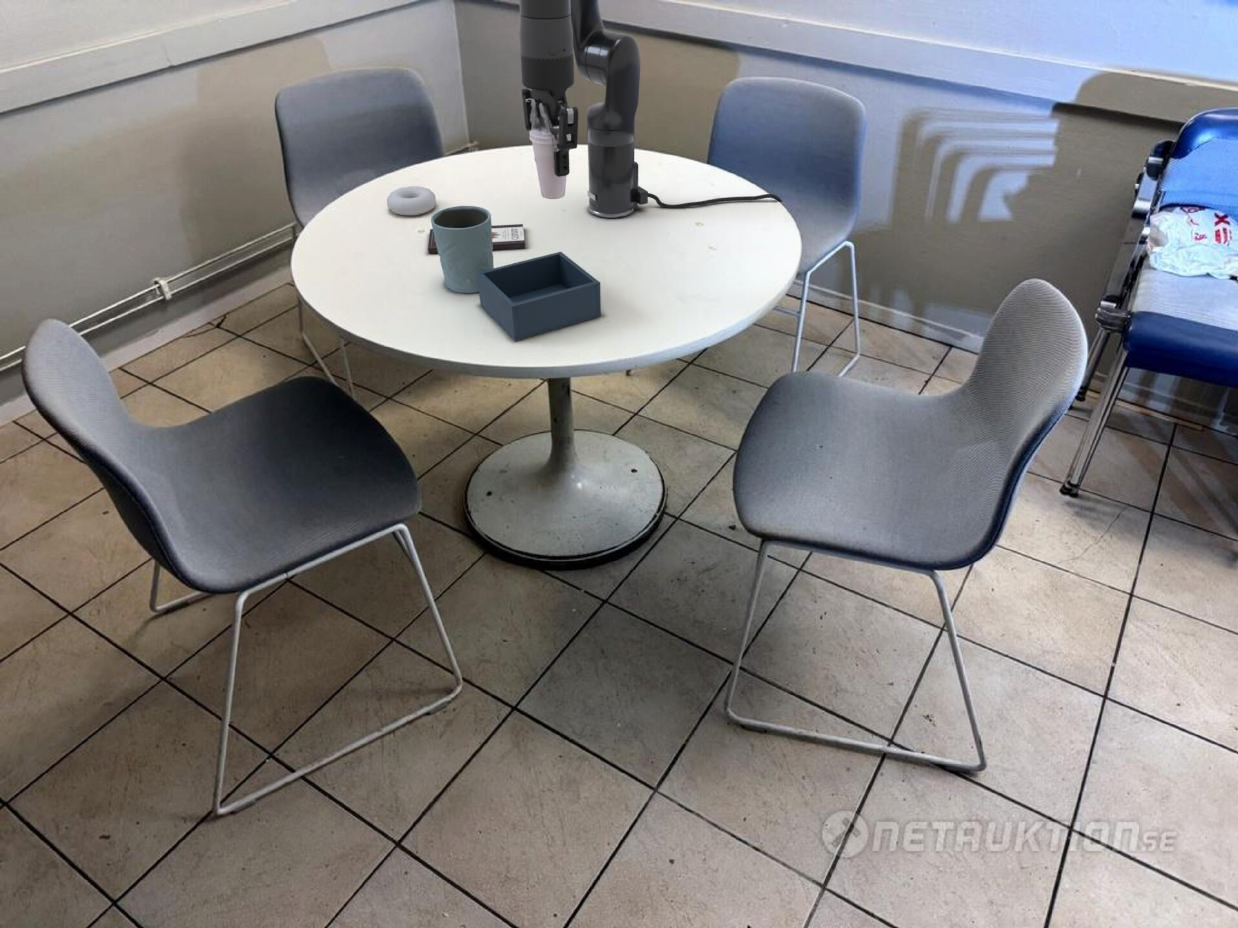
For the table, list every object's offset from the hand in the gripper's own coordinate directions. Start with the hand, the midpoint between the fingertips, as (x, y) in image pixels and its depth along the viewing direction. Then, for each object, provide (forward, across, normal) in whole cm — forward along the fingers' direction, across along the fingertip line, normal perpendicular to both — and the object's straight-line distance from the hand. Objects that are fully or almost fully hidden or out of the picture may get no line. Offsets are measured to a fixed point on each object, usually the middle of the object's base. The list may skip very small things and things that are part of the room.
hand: (551, 168), depth 128 cm
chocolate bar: (+22, +29, +2) cm, 36 cm away
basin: (+22, -2, +4) cm, 23 cm away
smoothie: (+4, 0, 0) cm, 4 cm away
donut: (+22, +51, +8) cm, 56 cm away
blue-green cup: (+22, +14, +10) cm, 28 cm away
